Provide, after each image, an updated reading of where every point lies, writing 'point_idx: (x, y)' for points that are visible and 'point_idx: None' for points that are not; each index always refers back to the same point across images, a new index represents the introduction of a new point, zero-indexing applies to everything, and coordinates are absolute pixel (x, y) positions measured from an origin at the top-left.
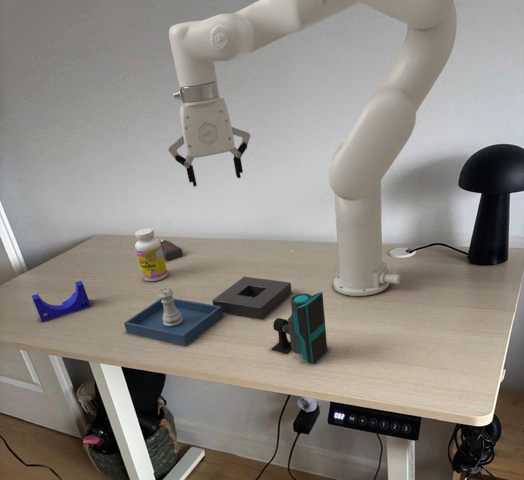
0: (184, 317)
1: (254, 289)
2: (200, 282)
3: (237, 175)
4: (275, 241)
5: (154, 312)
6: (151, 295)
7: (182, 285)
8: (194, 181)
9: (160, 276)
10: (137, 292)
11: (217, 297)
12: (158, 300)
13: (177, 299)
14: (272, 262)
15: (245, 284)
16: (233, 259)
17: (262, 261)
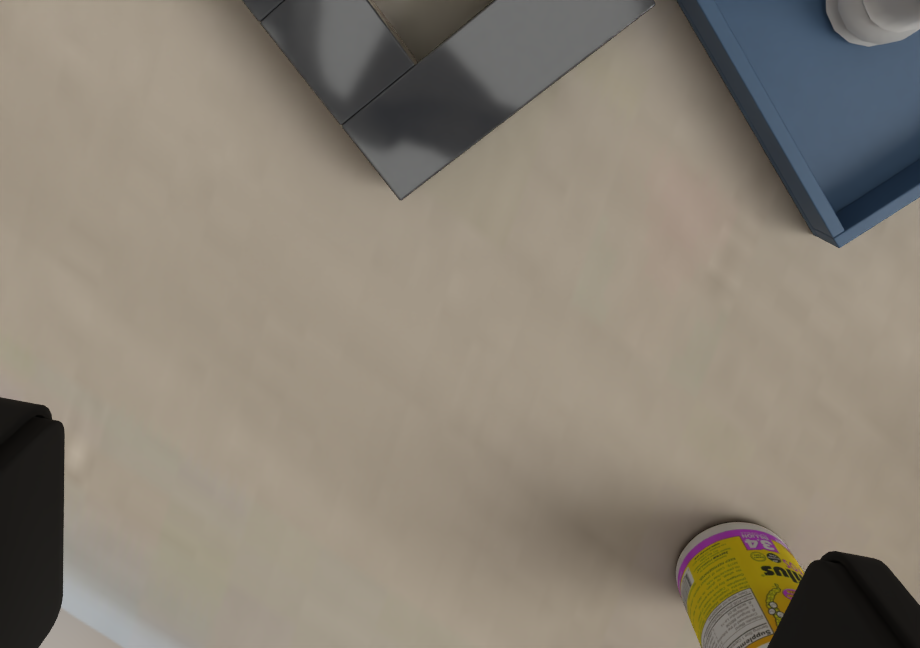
0: (803, 14)
1: (394, 34)
2: (579, 385)
3: (27, 433)
4: (123, 595)
5: (902, 170)
6: (820, 393)
7: (661, 407)
8: (891, 605)
9: (727, 531)
10: (858, 463)
11: (618, 19)
12: (878, 217)
13: (795, 163)
14: (200, 383)
15: (427, 88)
16: (360, 529)
17: (242, 424)
